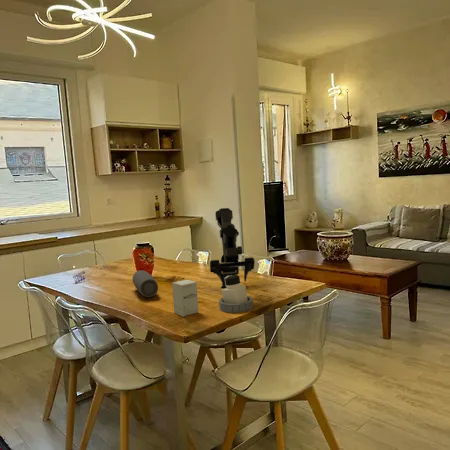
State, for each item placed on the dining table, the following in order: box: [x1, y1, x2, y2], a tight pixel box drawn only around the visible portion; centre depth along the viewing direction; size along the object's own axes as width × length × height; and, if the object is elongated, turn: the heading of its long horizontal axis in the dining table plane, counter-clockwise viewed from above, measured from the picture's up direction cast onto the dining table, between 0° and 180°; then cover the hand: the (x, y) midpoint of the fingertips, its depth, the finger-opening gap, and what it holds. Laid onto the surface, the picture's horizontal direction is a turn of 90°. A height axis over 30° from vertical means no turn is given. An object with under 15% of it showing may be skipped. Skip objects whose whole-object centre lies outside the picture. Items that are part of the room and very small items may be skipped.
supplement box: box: [171, 279, 199, 317], centre depth 171 cm, size 7×7×13 cm
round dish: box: [218, 295, 254, 314], centre depth 175 cm, size 14×14×3 cm
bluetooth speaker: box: [132, 269, 159, 298], centre depth 205 cm, size 23×9×10 cm, turn 21°
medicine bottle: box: [221, 274, 248, 304], centre depth 175 cm, size 7×7×12 cm
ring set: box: [72, 262, 107, 285], centre depth 245 cm, size 25×12×12 cm, turn 146°
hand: (234, 282), depth 177 cm, fingers open, 9 cm apart
